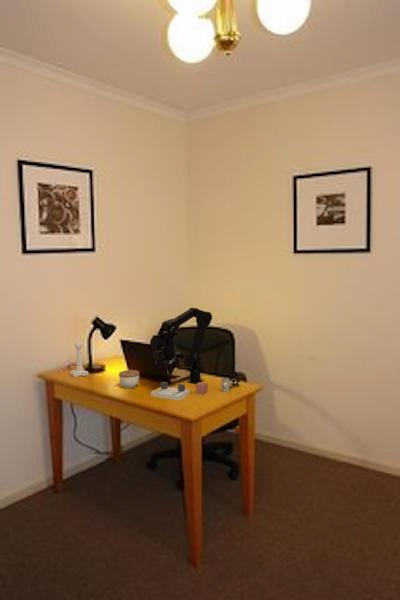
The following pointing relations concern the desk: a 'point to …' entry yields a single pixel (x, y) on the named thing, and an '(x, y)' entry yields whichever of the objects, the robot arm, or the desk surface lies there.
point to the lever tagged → (164, 385)
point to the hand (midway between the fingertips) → (170, 375)
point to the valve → (229, 383)
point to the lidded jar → (129, 378)
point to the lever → (181, 387)
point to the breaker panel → (170, 393)
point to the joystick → (79, 362)
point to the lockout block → (201, 388)
